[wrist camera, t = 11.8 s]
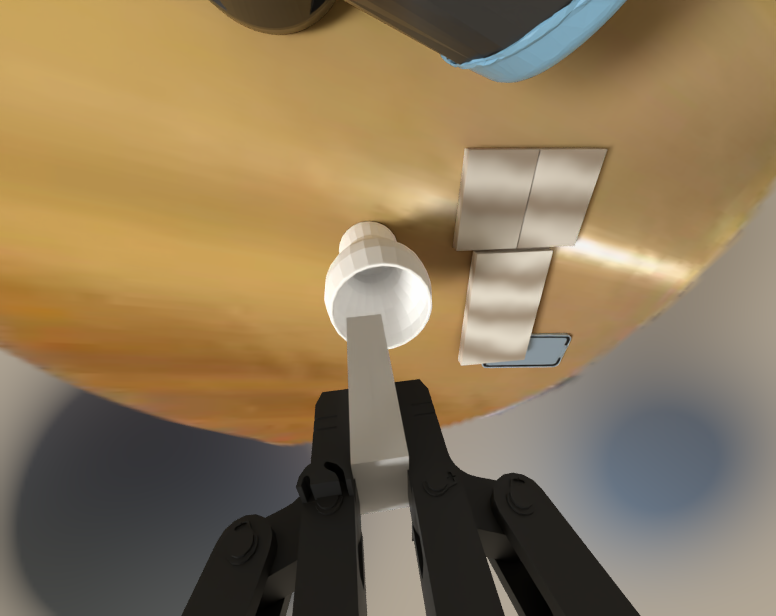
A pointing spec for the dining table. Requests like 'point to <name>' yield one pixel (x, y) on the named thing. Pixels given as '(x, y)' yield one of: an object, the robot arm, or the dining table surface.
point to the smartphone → (539, 352)
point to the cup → (378, 283)
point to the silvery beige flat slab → (502, 303)
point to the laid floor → (524, 196)
